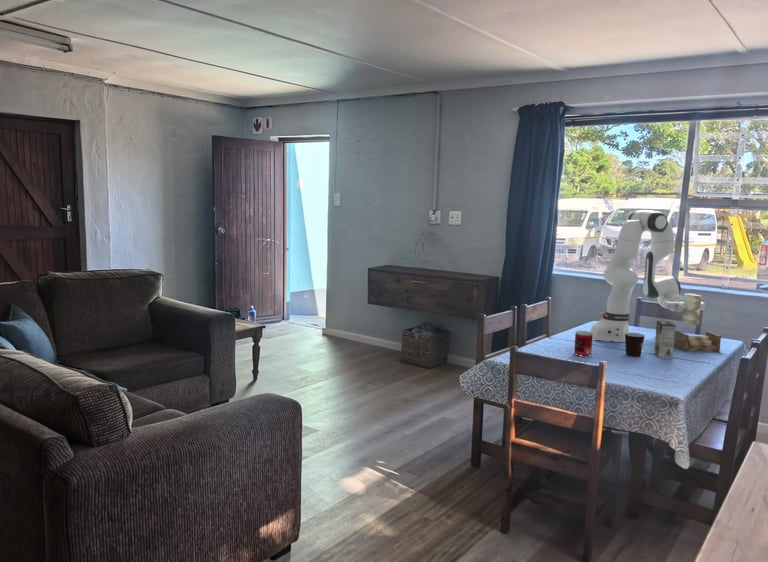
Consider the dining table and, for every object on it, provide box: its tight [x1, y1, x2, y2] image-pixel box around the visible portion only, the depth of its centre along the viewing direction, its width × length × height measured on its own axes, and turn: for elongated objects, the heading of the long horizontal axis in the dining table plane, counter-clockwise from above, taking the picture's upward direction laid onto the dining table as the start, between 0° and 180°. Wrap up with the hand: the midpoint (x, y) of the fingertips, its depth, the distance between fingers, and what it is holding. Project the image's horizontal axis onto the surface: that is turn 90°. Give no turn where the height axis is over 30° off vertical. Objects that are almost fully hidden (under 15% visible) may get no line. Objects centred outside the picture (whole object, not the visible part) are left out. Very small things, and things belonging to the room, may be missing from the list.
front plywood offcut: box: [688, 340, 712, 345], centre depth 286 cm, size 11×2×5 cm, turn 90°
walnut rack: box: [674, 330, 722, 352], centre depth 288 cm, size 18×10×8 cm, turn 90°
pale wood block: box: [681, 293, 703, 326], centre depth 293 cm, size 4×8×15 cm, turn 1°
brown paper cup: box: [624, 332, 645, 358], centre depth 274 cm, size 12×9×10 cm
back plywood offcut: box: [688, 335, 709, 340], centre depth 289 cm, size 11×2×6 cm, turn 90°
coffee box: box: [654, 320, 676, 359], centre depth 273 cm, size 9×6×16 cm
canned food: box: [573, 330, 593, 356], centre depth 272 cm, size 8×8×11 cm
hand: (691, 308), depth 294 cm, fingers closed on pale wood block, 4 cm apart
